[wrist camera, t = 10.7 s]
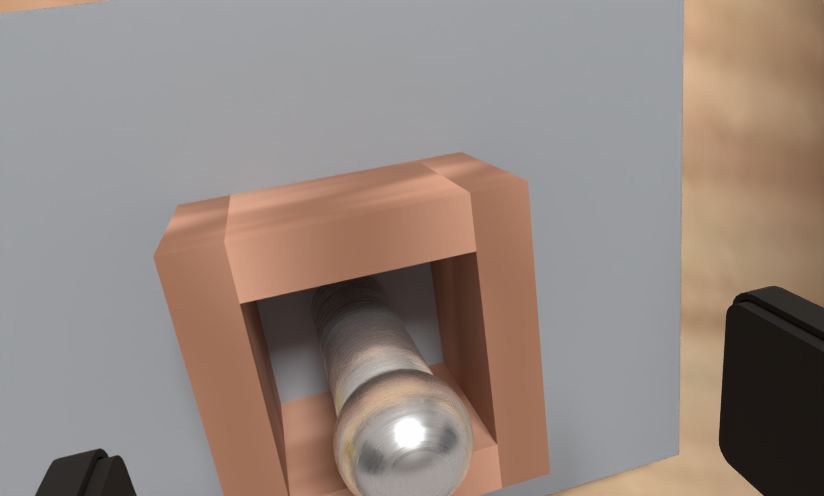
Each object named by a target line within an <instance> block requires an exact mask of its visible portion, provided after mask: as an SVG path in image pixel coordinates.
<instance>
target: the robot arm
mask: <svg viewBox="0 0 824 496" xmlns="http://www.w3.org/2000/svg"><path fill="white" fill-rule="evenodd" d="M719 446H720V449H721V452H722V454H723V456H724V458H725V459H726V461H727V462H728V463H729V464H730V465H731V466H732V467H733V468H734V469H735V470H736V471H737V472H738V473H739V474H740V475H742V476H743V477H744V478H745V479H746V480H747V481H748V482H749V483H750V484H751V485H753V486H754V487H755V488H756V489H757V490H758V491H759V492H760V493H761V494H762V495H764V496H824V308H823V307H820V306H818V305H816V304H814V303H812V302H810V301H808V300H806V299H804V298H802V297H800V296H797V295H795V294H793V293H791V292H789V291H787V290H785V289H783V288H780V287H777V286H770V287H766V288H761V289H757V290H753V291H749V292H745V293H741V294H739V295H738V296H736V298H735V299H734V301H733V305H732V306H730V307H729V308H728V310H727V314H726V328H725V345H724V362H723V379H722V395H721V412H720V429H719ZM35 496H137V495H136V492H135V490H134V487H133V484H132V481H131V479H130V476H129V473H128V470H127V468H126V465H125V463H124V461H123V459H122V458H121V456H119V455H116V456H112V457H109V456H108V454H107V453H106V452H105V450H104V449H101V448H99V449H95V450H90V451H86V452H82V453H78V454H74V455H70V456H66V457H62V458H58V459H55V460H53V462H52V463H51V465H50V466H49V468H48V470H47V472H46V474H45V476H44V478H43V480H42V482H41V484H40V486H39V488H38V490H37V492H36V494H35Z"/></svg>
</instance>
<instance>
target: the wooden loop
mask: <svg viewBox="0 0 824 496" xmlns="http://www.w3.org/2000/svg"><path fill="white" fill-rule="evenodd" d="M153 258H154V261H155V265H156V268H157V271H158V275H159V278H160V282H161V285H162V288H163V292H164V295H165V298H166V302H167V305H168V309H169V312H170V315H171V319H172V322H173V325H174V329H175V332H176V336H177V339H178V342H179V346H180V349H181V352H182V356H183V359H184V363H185V366H186V369H187V373H188V376H189V379H190V383H191V386H192V390H193V393H194V396H195V400H196V403H197V406H198V410H199V413H200V417H201V420H202V423H203V427H204V430H205V433H206V437H207V440H208V444H209V447H210V450H211V454H212V457H213V460H214V464H215V467H216V471H217V474H218V477H219V481H220V484H221V487H222V491H223V494H224V496H355V495H354V494H353V493H352V492H351V491H350V490H349V488H348V487H347V485H346V484H345V482H344V481H343V479H342V477H341V475H340V473H339V470H338V467H337V464H336V461H335V456H334V448H333V436H334V429H335V424H336V420H337V415H336V411H335V407H334V403H333V399H332V395H331V391H328V392H324V393H320V394H316V395H312V396H308V397H304V398H300V399H297V400H293V401H289V402H285V403H281V401H280V397H279V393H278V389H277V385H276V381H275V377H274V373H273V369H272V364H271V360H270V356H269V352H268V348H267V344H266V340H265V336H264V331H263V327H262V323H261V319H260V315H259V311H258V307H257V303H256V300H259V299H264V298H268V297H273V296H277V295H282V294H286V293H291V292H295V291H300V290H304V289H309V288H313V287H318V286H322V285H327V284H331V283H336V282H340V281H345V280H349V279H354V278H358V277H363V276H367V275H372V274H376V273H381V272H385V271H390V270H394V269H399V268H403V267H408V266H412V265H417V264H421V263H426V262H430V265H431V272H432V279H433V287H434V294H435V301H436V309H437V316H438V323H439V331H440V338H441V345H442V353H443V360H444V362H441V363H437V364H433V365H429V366H428V367H429V368H430V370H431V372H432V373H433V375H434V376H436V377H438V378H439V379H441V380H442V381H444V382H445V383H446V384H448V385H449V386H450V387H451V388H452V389H453V390H454V391H455V392H456V394H457V395H458V396H459V398H460V399H461V400H462V402H463V404H464V405H465V407H466V409H467V411H468V414H469V417H470V419H471V423H472V428H473V438H474V448H473V455H472V460H471V464H470V467H469V470H468V472H467V474H466V476H465V478H464V480H463V482H462V483H461V485H460V486H459V488H458V489H457V490H456V491H455V493H454V494H453V495H452V496H479V495H482V494H485V493H488V492H492V491H495V490H498V489H501V488H505V487H508V486H511V485H515V484H518V483H521V482H524V481H528V480H531V479H534V478H537V477H541V476H544V475H547V474H550V465H549V452H548V439H547V426H546V412H545V399H544V386H543V373H542V359H541V346H540V333H539V320H538V306H537V293H536V280H535V267H534V253H533V240H532V227H531V214H530V201H529V187H528V181H527V180H525V179H523V178H520V177H518V176H516V175H513V174H511V173H509V172H506V171H504V170H502V169H500V168H497V167H495V166H493V165H490V164H488V163H486V162H483V161H481V160H479V159H477V158H474V157H472V156H470V155H467V154H465V153H463V152H458V153H453V154H447V155H442V156H437V157H431V158H426V159H421V160H415V161H410V162H405V163H399V164H394V165H388V166H383V167H378V168H372V169H367V170H362V171H356V172H351V173H346V174H340V175H335V176H330V177H324V178H319V179H314V180H308V181H303V182H298V183H292V184H287V185H282V186H276V187H271V188H266V189H260V190H255V191H250V192H244V193H239V194H234V195H228V196H223V197H218V198H212V199H207V200H201V201H196V202H191V203H185V204H180V205H178V206H177V208H176V210H175V212H174V214H173V216H172V218H171V220H170V223H169V225H168V227H167V229H166V231H165V233H164V235H163V237H162V239H161V241H160V243H159V245H158V247H157V249H156V251H155V253H154V256H153Z"/></svg>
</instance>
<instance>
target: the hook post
mask: <svg viewBox="0 0 824 496" xmlns="http://www.w3.org/2000/svg"><path fill="white" fill-rule="evenodd" d="M311 312H312V318H313V322H314V326H315V330H316V334H317V338H318V342H319V346H320V350H321V354H322V358H323V362H324V366H325V370H326V374H327V378H328V383H329V387H330V391H331V395H332V399H333V403H334V407H335V411H336V415H337V420H336V424H335V429H334V436H333V448H334V456H335V461H336V464H337V467H338V470H339V473H340V475H341V477H342V479H343V481H344V482H345V484H346V485H347V487H348V488H349V490H350V491H351V492H352V493H353V494H354V495H355V496H452V495H453V494H454V493H455V491H456V490H457V489H458V488H459V486H460V485H461V483H462V482H463V480H464V478H465V476H466V474H467V472H468V470H469V467H470V464H471V460H472V455H473V448H474V438H473V428H472V423H471V419H470V417H469V414H468V411H467V409H466V407H465V405H464V404H463V402H462V400H461V399H460V398H459V396H458V395H457V394H456V392H455V391H454V390H453V389H452V388H451V387H450V386H449V385H448V384H446V383H445V382H444V381H442V380H441V379H439V378H438V377H436V376H434V375H433V373H432V372H431V370H430V368H429V367H428V365H427V363H426V361H425V360H424V358H423V356H422V355H421V353H420V351H419V350H418V348H417V346H416V344H415V343H414V341H413V339H412V338H411V336H410V334H409V332H408V331H407V329H406V327H405V326H404V324H403V322H402V321H401V319H400V317H399V315H398V314H397V312H396V310H395V309H394V307H393V305H392V303H391V302H390V300H389V298H388V297H387V295H386V293H385V292H384V290H383V288H382V286H381V285H380V284H379V283H378V282H377V281H376V280H375V279H374V278H372V277H371V276H369V275H367V276H363V277H358V278H354V279H349V280H345V281H340V282H336V283H331V284H327V285H322V286H320V287H319V288H318V290H317V291H316V293H315V295H314V298H313V301H312V307H311Z"/></svg>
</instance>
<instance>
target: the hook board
mask: <svg viewBox="0 0 824 496" xmlns="http://www.w3.org/2000/svg"><path fill="white" fill-rule="evenodd" d="M683 32H684V0H110V1H101V2H93V3H85V4H76V5H68V6H60V7H52V8H43V9H35V10H27V11H18V12H10V13H2V14H0V496H35V494H36V492H37V490H38V488H39V486H40V484H41V482H42V480H43V478H44V476H45V474H46V472H47V470H48V468H49V466H50V465H51V463H52V462H53V460H55V459H58V458H62V457H66V456H70V455H74V454H78V453H82V452H86V451H90V450H95V449H99V448H101V449H104V450H105V452H106V453H107V454H108V456H109V457H112V456H116V455H119V456H121V458H122V459H123V461H124V463H125V465H126V468H127V470H128V473H129V476H130V479H131V481H132V484H133V487H134V490H135V492H136V495H137V496H224V494H223V491H222V487H221V484H220V481H219V477H218V474H217V471H216V467H215V464H214V460H213V457H212V454H211V450H210V447H209V444H208V440H207V437H206V433H205V430H204V427H203V423H202V420H201V417H200V413H199V410H198V406H197V403H196V400H195V396H194V393H193V390H192V386H191V383H190V379H189V376H188V373H187V369H186V366H185V363H184V359H183V356H182V352H181V349H180V346H179V342H178V339H177V336H176V332H175V329H174V325H173V322H172V319H171V315H170V312H169V309H168V305H167V302H166V298H165V295H164V292H163V288H162V285H161V282H160V278H159V275H158V271H157V268H156V265H155V261H154V258H153V256H154V253H155V251H156V249H157V247H158V245H159V243H160V241H161V239H162V237H163V235H164V233H165V231H166V229H167V227H168V225H169V223H170V220H171V218H172V216H173V214H174V212H175V210H176V208H177V206H178V205H180V204H185V203H191V202H196V201H201V200H207V199H212V198H218V197H223V196H228V195H234V194H239V193H244V192H250V191H255V190H260V189H266V188H271V187H276V186H282V185H287V184H292V183H298V182H303V181H308V180H314V179H319V178H324V177H330V176H335V175H340V174H346V173H351V172H356V171H362V170H367V169H372V168H378V167H383V166H388V165H394V164H399V163H405V162H410V161H415V160H421V159H426V158H431V157H437V156H442V155H447V154H453V153H458V152H463V153H465V154H467V155H470V156H472V157H474V158H477V159H479V160H481V161H483V162H486V163H488V164H490V165H493V166H495V167H497V168H500V169H502V170H504V171H506V172H509V173H511V174H513V175H516V176H518V177H520V178H523V179H525V180H527V181H528V187H529V201H530V214H531V227H532V240H533V253H534V267H535V280H536V293H537V306H538V320H539V333H540V346H541V359H542V373H543V386H544V399H545V412H546V426H547V439H548V452H549V465H550V474H547V475H544V476H541V477H537V478H534V479H531V480H528V481H524V482H521V483H518V484H515V485H511V486H508V487H505V488H501V489H498V490H495V491H492V492H488V493H485V494H482V495H479V496H547V495H550V494H554V493H557V492H560V491H563V490H566V489H570V488H573V487H576V486H579V485H582V484H586V483H589V482H592V481H595V480H598V479H602V478H605V477H608V476H611V475H614V474H618V473H621V472H624V471H627V470H630V469H634V468H637V467H640V466H643V465H646V464H650V463H653V462H656V461H659V460H663V459H666V458H669V457H672V456H675V455H679V400H680V308H681V216H682V124H683ZM369 276H371V277H372V278H374V279H375V280H376V281H377V282H378V283H379V284H380V285H381V286H382V288H383V290H384V292H385V293H386V295H387V297H388V298H389V300H390V302H391V303H392V305H393V307H394V309H395V310H396V312H397V314H398V315H399V317H400V319H401V321H402V322H403V324H404V326H405V327H406V329H407V331H408V332H409V334H410V336H411V338H412V339H413V341H414V343H415V344H416V346H417V348H418V350H419V351H420V353H421V355H422V356H423V358H424V360H425V361H426V363H427V365H428V366H429V365H433V364H437V363H441V362H444V360H443V353H442V345H441V338H440V331H439V323H438V316H437V309H436V301H435V294H434V287H433V279H432V272H431V265H430V262H426V263H421V264H417V265H412V266H408V267H403V268H399V269H394V270H390V271H385V272H381V273H376V274H372V275H369ZM319 287H320V286H318V287H313V288H309V289H304V290H300V291H295V292H291V293H286V294H282V295H277V296H273V297H268V298H264V299H259V300H256V303H257V307H258V311H259V315H260V319H261V323H262V327H263V331H264V336H265V340H266V344H267V348H268V352H269V356H270V360H271V364H272V369H273V373H274V377H275V381H276V385H277V389H278V393H279V397H280V401H281V403H285V402H289V401H293V400H297V399H300V398H304V397H308V396H312V395H316V394H320V393H324V392H328V391H330V387H329V383H328V378H327V374H326V370H325V366H324V362H323V358H322V354H321V350H320V346H319V342H318V338H317V334H316V330H315V326H314V322H313V318H312V312H311V307H312V301H313V298H314V295H315V293H316V291H317V290H318V288H319Z"/></svg>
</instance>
